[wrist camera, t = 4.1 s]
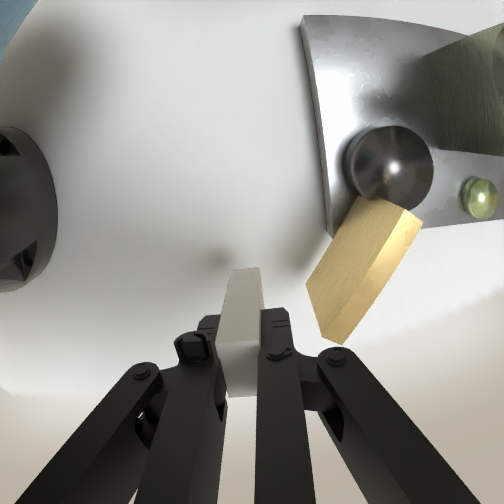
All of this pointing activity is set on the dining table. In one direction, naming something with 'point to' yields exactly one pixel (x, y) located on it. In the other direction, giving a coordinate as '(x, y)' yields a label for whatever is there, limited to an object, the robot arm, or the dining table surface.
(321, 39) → the base
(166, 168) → the dining table surface
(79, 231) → the dining table surface
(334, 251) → the knob
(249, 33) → the dining table surface
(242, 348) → the robot arm
